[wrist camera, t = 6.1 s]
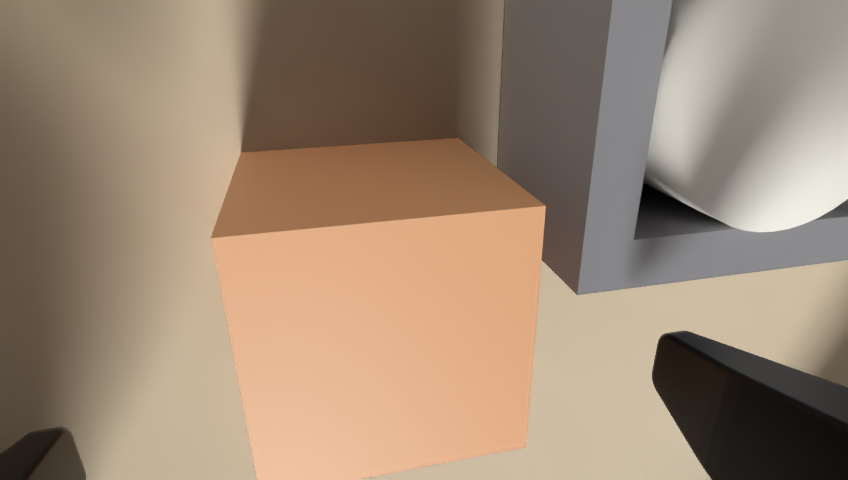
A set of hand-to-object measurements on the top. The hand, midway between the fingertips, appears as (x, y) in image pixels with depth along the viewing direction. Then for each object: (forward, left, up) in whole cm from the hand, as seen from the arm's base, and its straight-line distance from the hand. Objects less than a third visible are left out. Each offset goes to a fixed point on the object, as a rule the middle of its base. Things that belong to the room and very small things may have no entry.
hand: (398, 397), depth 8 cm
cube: (0, 0, -6) cm, 6 cm away
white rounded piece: (+7, +4, -5) cm, 9 cm away
